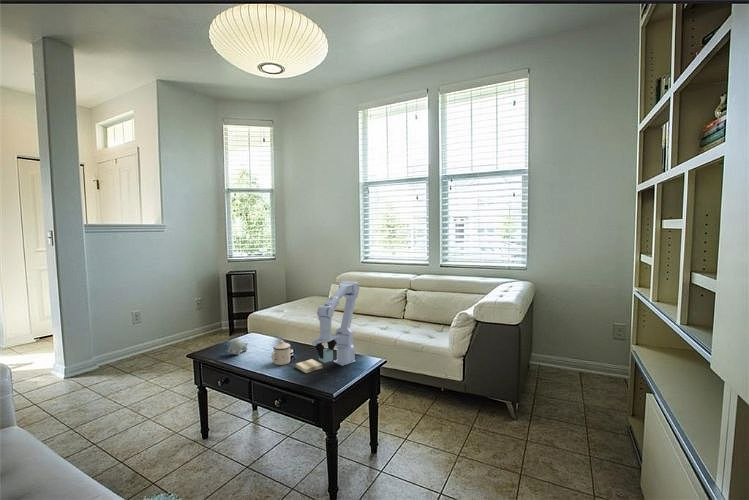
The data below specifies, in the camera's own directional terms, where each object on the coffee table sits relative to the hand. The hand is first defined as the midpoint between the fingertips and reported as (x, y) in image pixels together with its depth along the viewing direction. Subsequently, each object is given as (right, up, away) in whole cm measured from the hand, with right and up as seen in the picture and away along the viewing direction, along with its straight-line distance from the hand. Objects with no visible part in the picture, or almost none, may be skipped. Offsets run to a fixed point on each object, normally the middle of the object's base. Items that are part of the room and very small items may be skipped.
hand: (325, 356), depth 176 cm
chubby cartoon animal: (-54, -7, +29) cm, 62 cm away
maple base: (-10, -8, +8) cm, 15 cm away
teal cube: (0, -2, 0) cm, 2 cm away
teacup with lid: (-27, -8, +15) cm, 32 cm away
